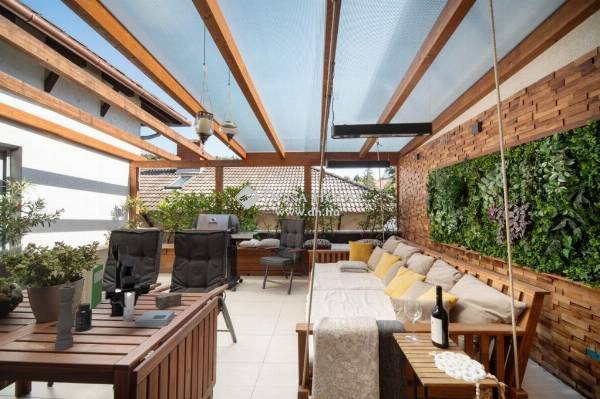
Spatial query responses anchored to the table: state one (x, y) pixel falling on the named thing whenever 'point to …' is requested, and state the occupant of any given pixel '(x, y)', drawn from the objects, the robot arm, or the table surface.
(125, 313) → the polished metal rod
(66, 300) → the candle holder
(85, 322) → the supplement bottle
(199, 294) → the table surface
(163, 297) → the stone block
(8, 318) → the table surface
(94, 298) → the hardback book
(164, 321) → the jig plate
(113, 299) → the robot arm
